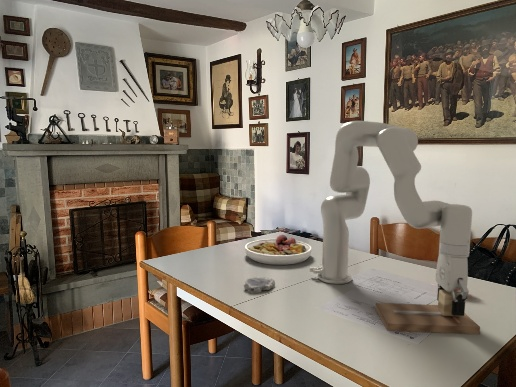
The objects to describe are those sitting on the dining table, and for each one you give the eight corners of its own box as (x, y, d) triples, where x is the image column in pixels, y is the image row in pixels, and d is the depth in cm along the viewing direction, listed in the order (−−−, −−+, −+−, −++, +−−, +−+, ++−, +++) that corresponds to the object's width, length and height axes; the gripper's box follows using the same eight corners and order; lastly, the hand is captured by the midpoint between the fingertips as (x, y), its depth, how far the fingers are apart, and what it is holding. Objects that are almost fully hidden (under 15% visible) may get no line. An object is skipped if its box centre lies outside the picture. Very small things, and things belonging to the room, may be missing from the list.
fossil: (257, 288, 127) (238, 274, 134) (254, 299, 128) (235, 285, 134) (280, 283, 135) (261, 271, 142) (277, 293, 136) (258, 281, 143)
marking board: (387, 330, 104) (387, 321, 103) (375, 309, 117) (375, 301, 117) (479, 334, 102) (480, 325, 102) (456, 312, 116) (456, 304, 115)
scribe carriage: (443, 315, 107) (444, 294, 106) (437, 309, 111) (439, 289, 110) (464, 316, 107) (465, 295, 106) (457, 310, 111) (459, 290, 110)
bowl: (309, 269, 157) (310, 250, 156) (238, 264, 162) (238, 246, 161) (312, 250, 186) (312, 234, 185) (252, 247, 191) (252, 231, 191)
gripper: (428, 241, 116) (425, 295, 117) (453, 257, 98) (449, 320, 100) (454, 241, 115) (450, 296, 117) (484, 258, 98) (479, 322, 100)
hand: (450, 307), depth 109 cm, fingers open, 9 cm apart
